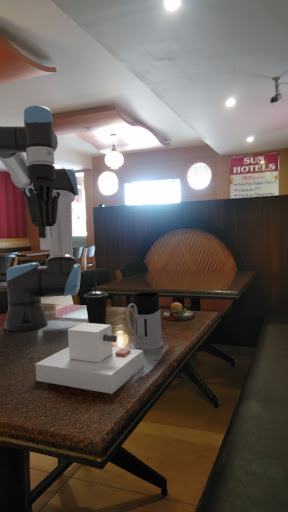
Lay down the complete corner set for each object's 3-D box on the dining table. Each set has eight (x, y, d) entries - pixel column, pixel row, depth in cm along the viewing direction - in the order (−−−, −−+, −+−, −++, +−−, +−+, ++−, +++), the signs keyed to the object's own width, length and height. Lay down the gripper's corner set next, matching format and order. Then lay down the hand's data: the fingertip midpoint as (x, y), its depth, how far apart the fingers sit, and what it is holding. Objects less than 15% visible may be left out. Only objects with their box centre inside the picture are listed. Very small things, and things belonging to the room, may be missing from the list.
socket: (36, 380, 82) (35, 360, 81) (76, 357, 96) (75, 339, 96) (112, 393, 73) (110, 371, 73) (143, 365, 88) (142, 347, 87)
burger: (199, 316, 137) (199, 297, 136) (181, 323, 128) (180, 302, 128) (175, 312, 145) (174, 294, 144) (156, 318, 136) (155, 299, 136)
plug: (70, 376, 83) (67, 329, 83) (85, 366, 89) (83, 322, 89) (110, 382, 79) (107, 333, 78) (123, 371, 85) (121, 325, 84)
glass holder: (168, 342, 106) (166, 292, 105) (142, 357, 94) (140, 301, 93) (144, 338, 110) (142, 291, 109) (116, 352, 99) (113, 299, 98)
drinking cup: (105, 339, 111) (102, 276, 109) (82, 339, 112) (79, 276, 111) (112, 332, 118) (109, 273, 117) (91, 332, 120) (87, 273, 119)
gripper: (35, 159, 91) (40, 250, 93) (66, 167, 103) (70, 248, 104) (13, 163, 94) (19, 251, 96) (45, 170, 106) (50, 248, 107)
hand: (46, 249), depth 100 cm, fingers closed
